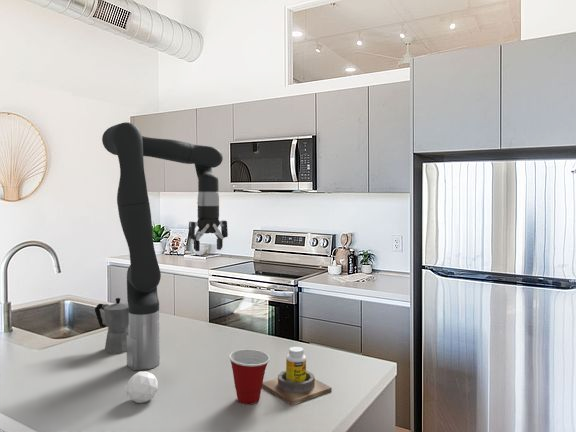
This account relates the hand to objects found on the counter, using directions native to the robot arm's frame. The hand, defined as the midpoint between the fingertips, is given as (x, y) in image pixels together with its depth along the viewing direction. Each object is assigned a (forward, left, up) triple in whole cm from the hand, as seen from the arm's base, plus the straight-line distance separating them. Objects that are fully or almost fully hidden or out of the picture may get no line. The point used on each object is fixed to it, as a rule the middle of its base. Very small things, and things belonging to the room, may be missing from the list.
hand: (208, 250), depth 160 cm
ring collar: (+3, -47, -34) cm, 58 cm away
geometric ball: (-34, -29, -34) cm, 56 cm away
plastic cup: (-11, -45, -34) cm, 58 cm away
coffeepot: (-28, +15, -34) cm, 47 cm away
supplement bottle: (+3, -47, -33) cm, 58 cm away
